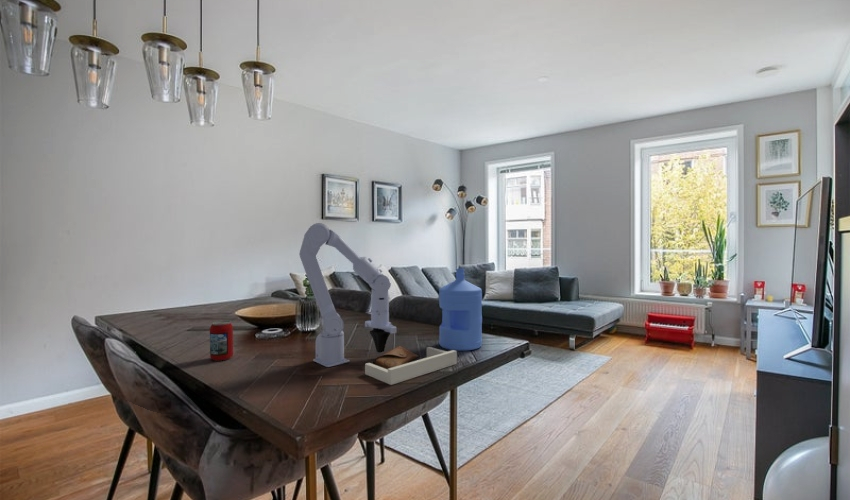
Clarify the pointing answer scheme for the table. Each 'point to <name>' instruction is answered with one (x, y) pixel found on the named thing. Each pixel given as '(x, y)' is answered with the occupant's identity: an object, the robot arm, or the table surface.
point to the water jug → (460, 314)
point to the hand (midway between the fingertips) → (380, 351)
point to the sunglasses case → (395, 358)
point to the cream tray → (413, 367)
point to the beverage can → (221, 340)
